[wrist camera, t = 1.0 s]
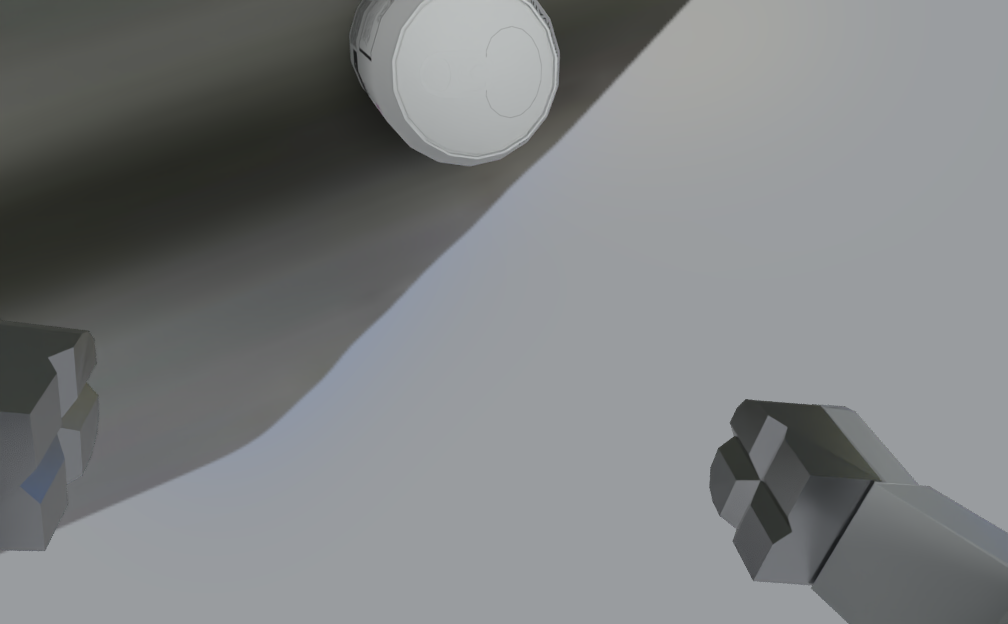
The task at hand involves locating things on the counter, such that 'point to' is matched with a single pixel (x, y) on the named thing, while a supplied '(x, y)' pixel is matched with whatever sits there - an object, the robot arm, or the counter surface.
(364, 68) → the supplement can
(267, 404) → the counter surface
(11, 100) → the counter surface
